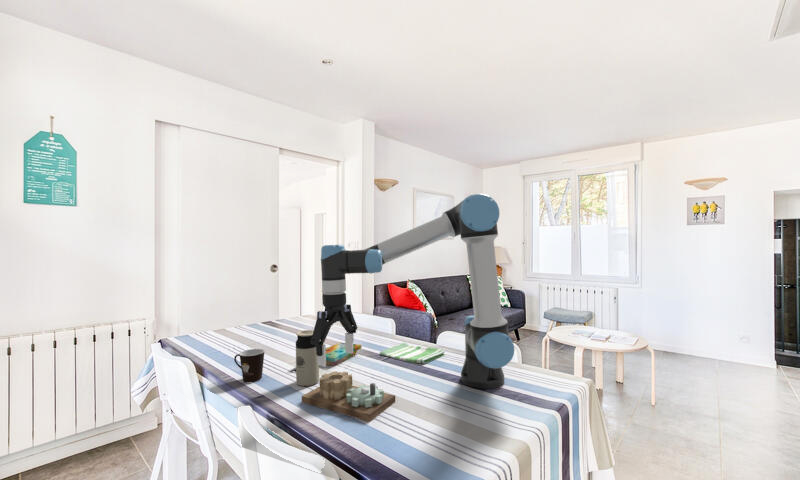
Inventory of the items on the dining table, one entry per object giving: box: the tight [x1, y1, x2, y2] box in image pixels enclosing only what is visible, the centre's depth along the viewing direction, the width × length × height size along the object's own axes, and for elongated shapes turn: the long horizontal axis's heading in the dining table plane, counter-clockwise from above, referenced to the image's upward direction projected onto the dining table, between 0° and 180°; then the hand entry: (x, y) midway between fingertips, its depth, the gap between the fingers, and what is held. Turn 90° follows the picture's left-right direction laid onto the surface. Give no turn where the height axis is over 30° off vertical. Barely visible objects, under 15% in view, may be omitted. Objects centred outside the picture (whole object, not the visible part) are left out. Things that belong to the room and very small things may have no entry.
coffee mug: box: [233, 348, 265, 383], centre depth 134 cm, size 12×9×10 cm
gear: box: [346, 382, 385, 407], centre depth 109 cm, size 11×11×5 cm
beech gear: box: [319, 370, 353, 400], centre depth 115 cm, size 10×10×5 cm
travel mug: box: [295, 329, 320, 387], centre depth 129 cm, size 8×8×18 cm
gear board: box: [301, 379, 396, 423], centre depth 112 cm, size 26×14×6 cm, turn 60°
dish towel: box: [379, 342, 446, 365], centre depth 159 cm, size 18×23×3 cm
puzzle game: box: [326, 341, 362, 367], centre depth 156 cm, size 12×5×20 cm
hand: (336, 359), depth 115 cm, fingers open, 13 cm apart
